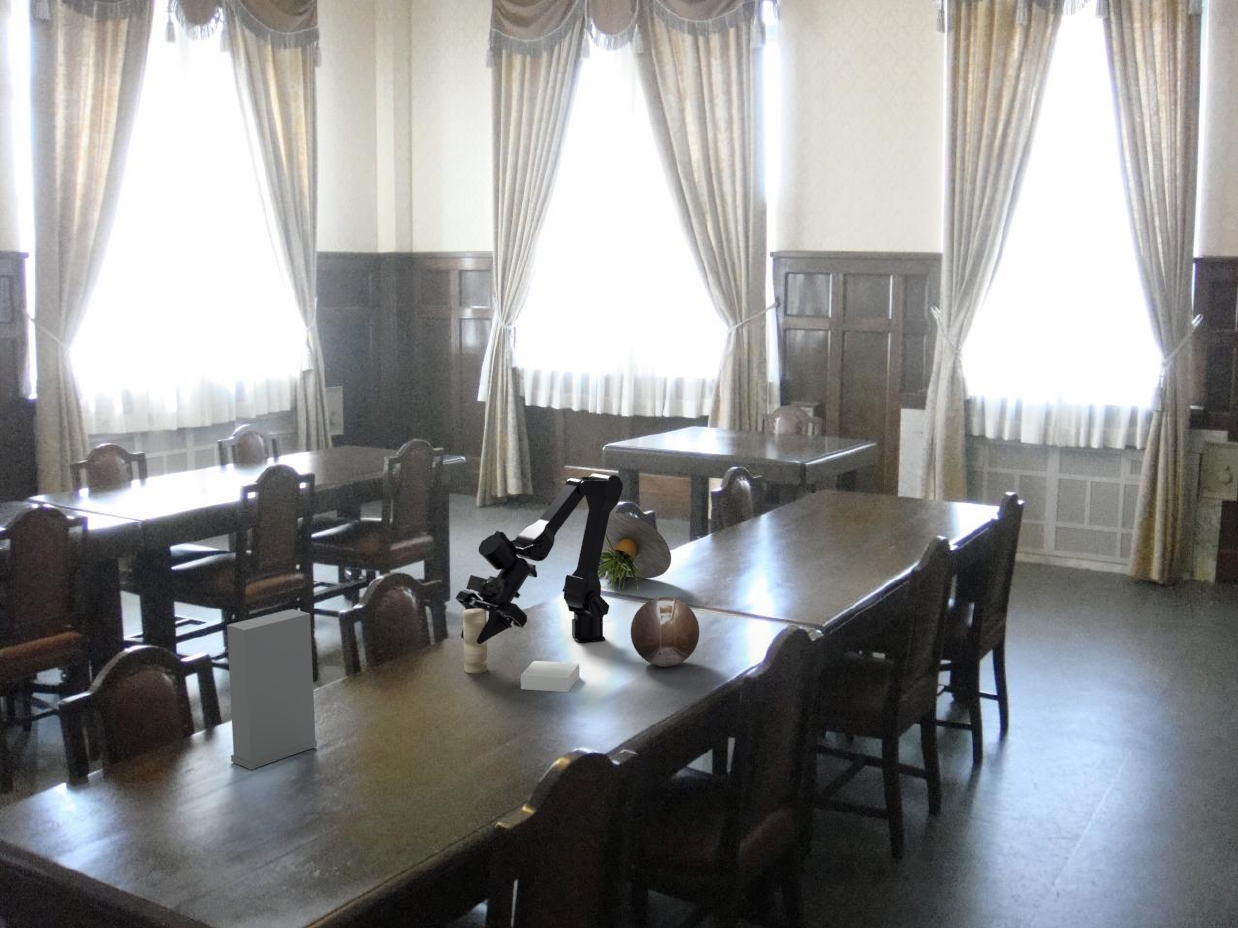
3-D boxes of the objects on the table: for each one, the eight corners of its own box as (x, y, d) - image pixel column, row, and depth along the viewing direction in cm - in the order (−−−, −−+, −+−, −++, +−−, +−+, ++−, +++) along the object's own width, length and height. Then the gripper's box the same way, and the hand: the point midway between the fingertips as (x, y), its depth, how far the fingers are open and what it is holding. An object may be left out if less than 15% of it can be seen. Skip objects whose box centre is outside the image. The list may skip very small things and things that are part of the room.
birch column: (484, 665, 272) (483, 607, 270) (489, 671, 268) (488, 613, 266) (462, 667, 271) (460, 609, 269) (466, 674, 266) (465, 615, 264)
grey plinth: (534, 674, 266) (533, 660, 265) (579, 677, 264) (579, 663, 263) (520, 688, 256) (520, 674, 256) (567, 692, 254) (567, 677, 254)
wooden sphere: (641, 678, 263) (641, 609, 261) (622, 657, 277) (622, 592, 275) (708, 672, 267) (709, 604, 265) (686, 652, 281) (686, 587, 279)
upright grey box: (296, 740, 228) (290, 607, 225) (316, 747, 224) (311, 613, 221) (230, 762, 218) (223, 624, 214) (250, 771, 214) (244, 630, 210)
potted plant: (578, 603, 352) (554, 551, 334) (605, 555, 361) (583, 502, 343) (656, 625, 341) (635, 572, 323) (682, 575, 350) (663, 521, 332)
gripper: (461, 554, 275) (421, 612, 269) (516, 567, 262) (476, 628, 256) (489, 582, 282) (451, 639, 276) (544, 597, 269) (506, 657, 263)
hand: (470, 640), depth 267 cm, fingers closed on birch column, 5 cm apart
